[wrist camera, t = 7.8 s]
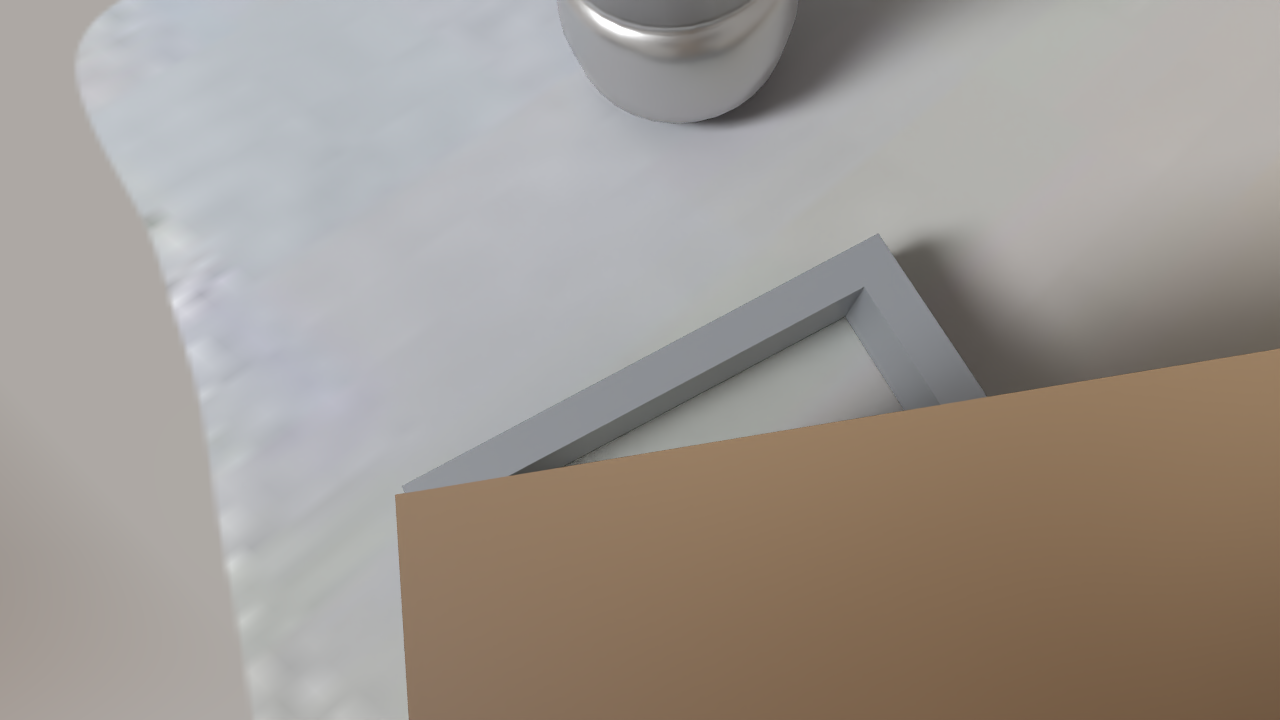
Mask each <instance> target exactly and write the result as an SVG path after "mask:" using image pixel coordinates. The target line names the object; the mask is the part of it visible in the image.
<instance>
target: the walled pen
mask: <svg viewBox="0 0 1280 720" xmlns="http://www.w3.org/2000/svg"><path fill="white" fill-rule="evenodd" d="M843 317H846V319H847V320H848V322H849V323H850V325H851V327H852V328H853V330H854V331H855V333H856V334H857V336H858V338H859V339H860V341H861V342H862V344H863V346H864V347H865V349H866V350H867V352H868V353H869V355H870V357H871V358H872V360H873V361H874V363H875V365H876V366H877V368H878V369H879V371H880V373H881V374H882V376H883V377H884V379H885V380H886V382H887V384H888V385H889V387H890V388H891V390H892V392H893V393H894V395H895V396H896V398H897V400H898V401H899V403H900V404H901V406H902V407H903V409H904V411H905V410H911V409H917V408H923V407H930V406H936V405H942V404H948V403H954V402H960V401H966V400H972V399H978V398H984V397H987V396H986V394H985V393H984V391H983V390H982V388H981V387H980V385H979V384H978V382H977V381H976V379H975V378H974V376H973V375H972V373H971V372H970V370H969V369H968V367H967V366H966V364H965V363H964V361H963V360H962V358H961V357H960V355H959V354H958V352H957V351H956V349H955V348H954V346H953V345H952V343H951V342H950V340H949V339H948V337H947V336H946V334H945V333H944V331H943V330H942V328H941V327H940V325H939V324H938V322H937V321H936V319H935V318H934V316H933V315H932V313H931V312H930V310H929V309H928V307H927V306H926V304H925V303H924V301H923V300H922V298H921V297H920V295H919V294H918V292H917V291H916V289H915V288H914V286H913V285H912V283H911V282H910V280H909V279H908V277H907V276H906V274H905V273H904V271H903V270H902V268H901V267H900V265H899V264H898V262H897V261H896V259H895V258H894V256H893V255H892V253H891V252H890V250H889V249H888V247H887V246H886V244H885V243H884V241H883V240H882V238H881V237H880V235H879V234H876V235H874V236H872V237H870V238H869V239H867V240H865V241H863V242H861V243H859V244H857V245H855V246H853V247H852V248H850V249H848V250H846V251H844V252H842V253H840V254H838V255H837V256H835V257H833V258H831V259H829V260H827V261H825V262H823V263H821V264H820V265H818V266H816V267H814V268H812V269H810V270H808V271H806V272H805V273H803V274H801V275H799V276H797V277H795V278H793V279H791V280H789V281H788V282H786V283H784V284H782V285H780V286H778V287H776V288H774V289H772V290H771V291H769V292H767V293H765V294H763V295H761V296H759V297H757V298H756V299H754V300H752V301H750V302H748V303H746V304H744V305H742V306H740V307H739V308H737V309H735V310H733V311H731V312H729V313H727V314H725V315H723V316H722V317H720V318H718V319H716V320H714V321H712V322H710V323H708V324H707V325H705V326H703V327H701V328H699V329H697V330H695V331H693V332H691V333H690V334H688V335H686V336H684V337H682V338H680V339H678V340H676V341H674V342H673V343H671V344H669V345H667V346H665V347H663V348H661V349H659V350H658V351H656V352H654V353H652V354H650V355H648V356H646V357H644V358H642V359H641V360H639V361H637V362H635V363H633V364H631V365H629V366H627V367H625V368H624V369H622V370H620V371H618V372H616V373H614V374H612V375H610V376H609V377H607V378H605V379H603V380H601V381H599V382H597V383H595V384H593V385H592V386H590V387H588V388H586V389H584V390H582V391H580V392H578V393H576V394H575V395H573V396H571V397H569V398H567V399H565V400H563V401H561V402H560V403H558V404H556V405H554V406H552V407H550V408H548V409H546V410H544V411H543V412H541V413H539V414H537V415H535V416H533V417H531V418H529V419H528V420H526V421H524V422H522V423H520V424H518V425H516V426H514V427H512V428H511V429H509V430H507V431H505V432H503V433H501V434H499V435H497V436H495V437H494V438H492V439H490V440H488V441H486V442H484V443H482V444H480V445H479V446H477V447H475V448H473V449H471V450H469V451H467V452H465V453H463V454H462V455H460V456H458V457H456V458H454V459H452V460H450V461H448V462H446V463H445V464H443V465H441V466H439V467H437V468H435V469H433V470H431V471H430V472H428V473H426V474H424V475H422V476H420V477H418V478H416V479H414V480H413V481H411V482H409V483H407V484H405V485H403V486H402V488H403V490H404V492H405V493H409V492H415V491H421V490H428V489H434V488H440V487H446V486H452V485H458V484H464V483H470V482H476V481H482V480H488V479H494V478H500V477H506V476H512V475H518V474H524V473H530V472H536V471H542V470H548V469H555V468H561V467H563V466H565V465H567V464H569V463H571V462H573V461H574V460H576V459H578V458H580V457H582V456H584V455H586V454H588V453H590V452H591V451H593V450H595V449H597V448H599V447H601V446H603V445H605V444H606V443H608V442H610V441H612V440H614V439H616V438H618V437H620V436H621V435H623V434H625V433H627V432H629V431H631V430H633V429H635V428H636V427H638V426H640V425H642V424H644V423H646V422H648V421H650V420H652V419H653V418H655V417H657V416H659V415H661V414H663V413H665V412H667V411H668V410H670V409H672V408H674V407H676V406H678V405H680V404H682V403H683V402H685V401H687V400H689V399H691V398H693V397H695V396H697V395H698V394H700V393H702V392H704V391H706V390H708V389H710V388H712V387H713V386H715V385H717V384H719V383H721V382H723V381H725V380H727V379H729V378H730V377H732V376H734V375H736V374H738V373H740V372H742V371H744V370H745V369H747V368H749V367H751V366H753V365H755V364H757V363H759V362H760V361H762V360H764V359H766V358H768V357H770V356H772V355H774V354H775V353H777V352H779V351H781V350H783V349H785V348H787V347H789V346H791V345H792V344H794V343H796V342H798V341H800V340H802V339H804V338H806V337H807V336H809V335H811V334H813V333H815V332H817V331H819V330H821V329H822V328H824V327H826V326H828V325H830V324H832V323H834V322H836V321H837V320H839V319H841V318H843Z"/></svg>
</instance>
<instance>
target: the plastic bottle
mask: <svg viewBox="0 0 1280 720" xmlns="http://www.w3.org/2000/svg"><path fill="white" fill-rule="evenodd" d="M557 5H558V13H559V17H560V21H561V25H562V29H563V33H564V35H565V37H566V39H567V41H568V43H569V45H570V47H571V49H572V51H573V53H574V55H575V57H576V58H577V60H578V62H579V63H580V65H581V67H582V69H583V70H584V72H585V74H586V76H587V77H588V79H589V80H590V81H591V82H592V84H593V85H594V86H595V87H596V89H597V90H598V91H599V92H600V93H601V94H602V95H603V96H604V97H606V98H607V99H608V100H609V101H610V102H612V103H613V104H614V105H615V106H617V107H619V108H621V109H623V110H625V111H627V112H629V113H630V114H632V115H635V116H638V117H641V118H645V119H648V120H651V121H657V122H666V123H689V122H698V121H702V120H706V119H710V118H714V117H717V116H719V115H722V114H724V113H726V112H728V111H730V110H732V109H735V108H736V107H738V106H739V105H741V104H742V103H743V102H745V101H746V100H748V99H749V98H751V97H752V96H753V95H754V94H755V93H756V92H757V91H758V90H759V89H760V88H761V87H762V86H763V85H764V84H765V82H766V81H767V80H768V78H769V77H770V75H771V74H772V72H773V70H774V69H775V67H776V65H777V64H778V61H779V59H780V57H781V54H782V52H783V50H784V47H785V45H786V43H787V40H788V38H789V36H790V33H791V30H792V27H793V24H794V21H795V19H796V16H797V9H798V0H557Z"/></svg>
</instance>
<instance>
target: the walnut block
mask: <svg viewBox="0 0 1280 720" xmlns="http://www.w3.org/2000/svg"><path fill="white" fill-rule="evenodd" d="M395 500H396V517H397V533H398V549H399V566H400V582H401V598H402V615H403V631H404V648H405V664H406V680H407V697H408V713H409V720H1280V349H1274V350H1268V351H1262V352H1256V353H1250V354H1244V355H1238V356H1232V357H1226V358H1220V359H1214V360H1208V361H1202V362H1196V363H1190V364H1184V365H1178V366H1171V367H1165V368H1159V369H1153V370H1147V371H1141V372H1135V373H1129V374H1123V375H1117V376H1111V377H1105V378H1099V379H1093V380H1087V381H1081V382H1075V383H1069V384H1063V385H1057V386H1051V387H1044V388H1038V389H1032V390H1026V391H1020V392H1014V393H1008V394H1002V395H996V396H990V397H984V398H978V399H972V400H966V401H960V402H954V403H948V404H942V405H936V406H930V407H923V408H917V409H911V410H905V411H899V412H893V413H887V414H881V415H875V416H869V417H863V418H857V419H851V420H845V421H839V422H833V423H827V424H821V425H815V426H809V427H803V428H796V429H790V430H784V431H778V432H772V433H766V434H760V435H754V436H748V437H742V438H736V439H730V440H724V441H718V442H712V443H706V444H700V445H694V446H688V447H682V448H675V449H669V450H663V451H657V452H651V453H645V454H639V455H633V456H627V457H621V458H615V459H609V460H603V461H597V462H591V463H585V464H579V465H573V466H567V467H561V468H555V469H548V470H542V471H536V472H530V473H524V474H518V475H512V476H506V477H500V478H494V479H488V480H482V481H476V482H470V483H464V484H458V485H452V486H446V487H440V488H434V489H428V490H421V491H415V492H409V493H403V494H397V495H395Z"/></svg>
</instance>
